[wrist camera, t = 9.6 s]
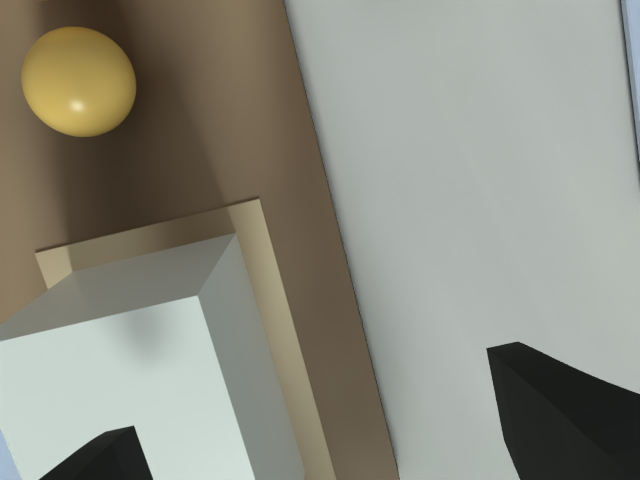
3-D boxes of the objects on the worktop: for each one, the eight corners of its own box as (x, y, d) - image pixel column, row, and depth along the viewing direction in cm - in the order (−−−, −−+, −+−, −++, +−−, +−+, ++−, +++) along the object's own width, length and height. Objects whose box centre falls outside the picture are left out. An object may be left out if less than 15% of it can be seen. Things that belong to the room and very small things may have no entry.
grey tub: (236, 232, 19) (197, 295, 14) (304, 470, 22) (296, 611, 16) (72, 272, 20) (-34, 349, 14) (155, 501, 22) (94, 651, 16)
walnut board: (222, -249, 17) (215, -271, 16) (398, 471, 23) (401, 490, 22) (-166, -134, 18) (-197, -148, 17) (98, 533, 24) (87, 554, 23)
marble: (131, 20, 18) (93, 7, 15) (161, 120, 19) (130, 126, 16) (36, 45, 18) (-19, 37, 15) (70, 143, 19) (23, 153, 16)
